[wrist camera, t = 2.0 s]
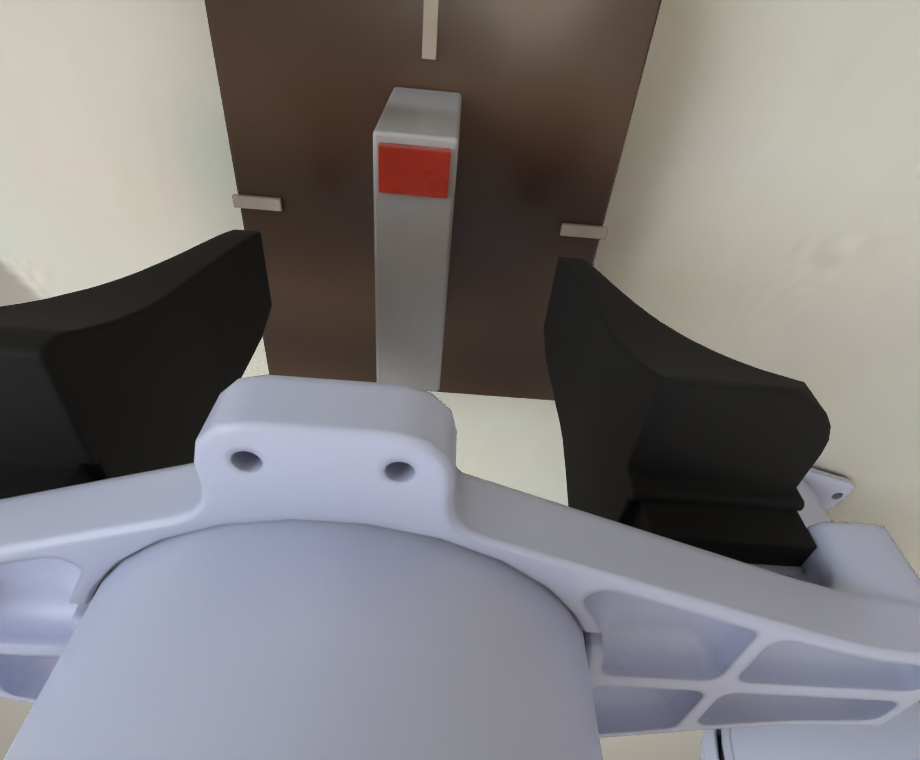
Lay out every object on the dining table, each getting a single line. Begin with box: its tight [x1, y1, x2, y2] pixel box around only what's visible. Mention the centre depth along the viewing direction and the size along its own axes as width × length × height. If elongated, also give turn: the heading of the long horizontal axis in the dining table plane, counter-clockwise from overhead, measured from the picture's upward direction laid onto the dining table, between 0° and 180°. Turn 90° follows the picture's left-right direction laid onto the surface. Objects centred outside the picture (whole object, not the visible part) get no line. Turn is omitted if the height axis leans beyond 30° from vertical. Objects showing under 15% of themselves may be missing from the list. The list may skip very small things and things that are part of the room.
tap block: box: [205, 0, 662, 400], centre depth 18 cm, size 14×11×3 cm
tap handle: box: [373, 87, 462, 392], centre depth 15 cm, size 7×2×4 cm, turn 175°
